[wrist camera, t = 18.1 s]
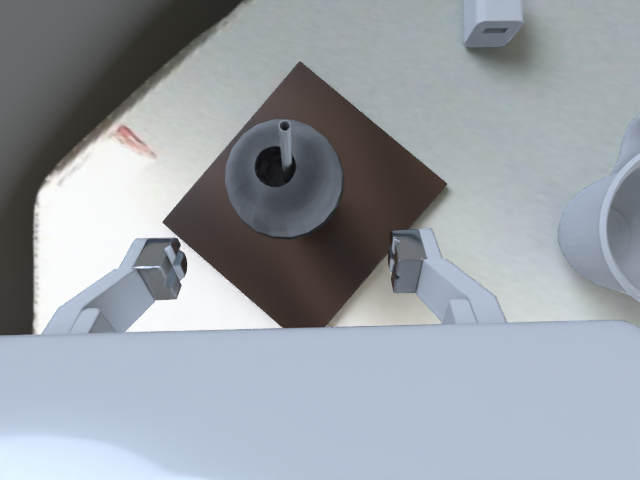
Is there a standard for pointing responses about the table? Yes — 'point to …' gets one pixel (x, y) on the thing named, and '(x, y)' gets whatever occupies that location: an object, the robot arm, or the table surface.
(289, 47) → the table surface
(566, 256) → the teacup
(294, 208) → the beverage cup
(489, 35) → the usb wall charger
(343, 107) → the mat
